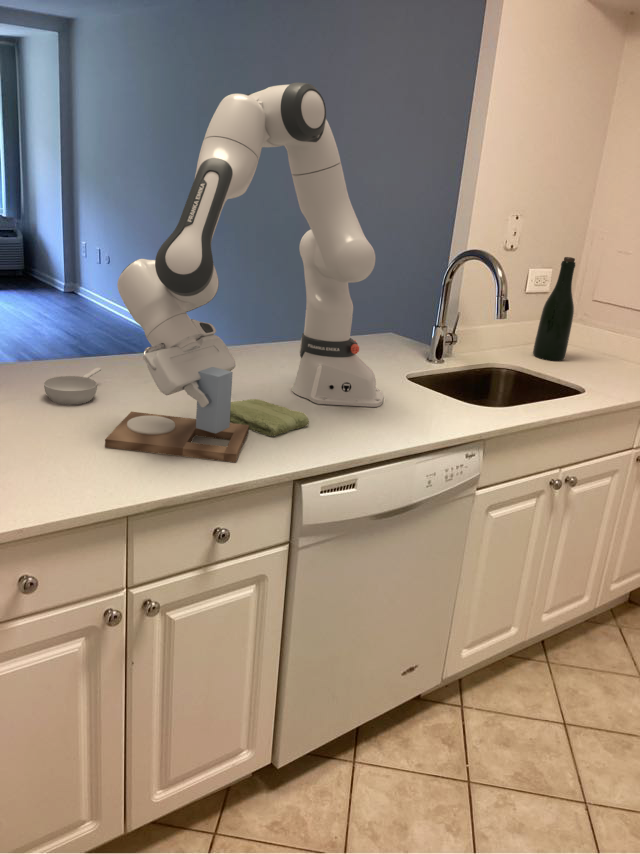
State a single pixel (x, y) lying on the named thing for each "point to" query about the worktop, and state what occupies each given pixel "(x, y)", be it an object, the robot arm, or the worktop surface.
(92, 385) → the saucepan
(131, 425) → the felt coaster
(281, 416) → the washcloth
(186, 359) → the robot arm
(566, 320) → the green wine bottle
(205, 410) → the slate block
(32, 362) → the worktop surface
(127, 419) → the walnut board
